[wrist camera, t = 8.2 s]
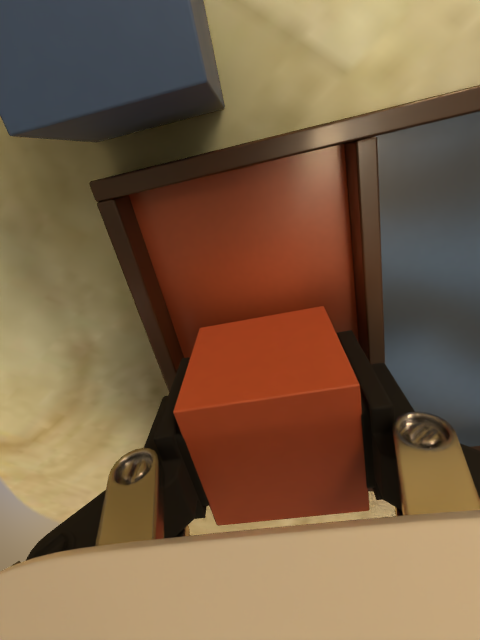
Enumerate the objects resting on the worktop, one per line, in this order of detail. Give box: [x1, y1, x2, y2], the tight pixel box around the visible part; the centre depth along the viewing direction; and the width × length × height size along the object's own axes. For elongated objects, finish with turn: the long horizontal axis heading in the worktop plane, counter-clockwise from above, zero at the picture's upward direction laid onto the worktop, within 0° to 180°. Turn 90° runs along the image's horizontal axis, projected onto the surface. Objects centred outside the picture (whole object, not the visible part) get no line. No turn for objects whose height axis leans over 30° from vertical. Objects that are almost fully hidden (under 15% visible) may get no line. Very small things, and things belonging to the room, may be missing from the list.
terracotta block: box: [173, 306, 369, 525], centre depth 11 cm, size 4×4×4 cm
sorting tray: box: [89, 85, 480, 491], centre depth 13 cm, size 15×16×2 cm
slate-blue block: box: [0, 0, 225, 142], centre depth 8 cm, size 4×4×4 cm
